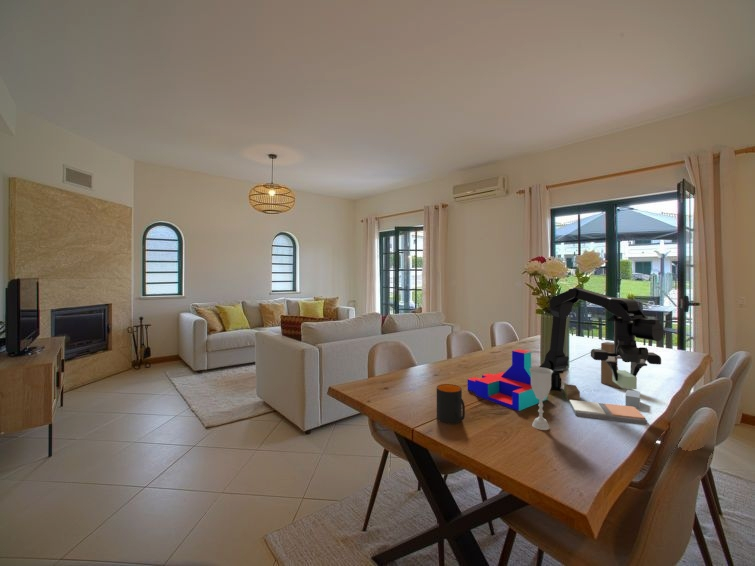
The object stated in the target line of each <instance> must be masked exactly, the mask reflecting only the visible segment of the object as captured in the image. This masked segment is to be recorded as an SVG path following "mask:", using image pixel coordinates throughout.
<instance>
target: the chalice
mask: <svg viewBox="0 0 755 566" xmlns="http://www.w3.org/2000/svg"><path fill="white" fill-rule="evenodd" d="M531 367H532V366H531ZM529 370H530V372H531V386H532V389H533V392H534V394H535V396H536V398H537V399H539V403H537V404H538V410H537V412H538V416H537V417H535V418H534V420H533V422H532V423H531V424H532V428H534V429H537V430H539V431H540V430H541V431H548V430H550V425H549V423H548V421H547V419H546V418H544V417H543V414H544V413H545V411H544V409H543V407H544V403H543V402H544V401H543V400H544V399H546V397H547V398H548V395H549V394H550V392H551V390H552V389H551V374H552V373H553V371H552V370H551V369H548V368H542V367H540V366H533V367H532V368H530V369H529Z"/></svg>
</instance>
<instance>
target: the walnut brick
mask: <svg viewBox="0 0 755 566" xmlns="http://www.w3.org/2000/svg"><path fill="white" fill-rule="evenodd" d="M563 394H564V396H565V398H566V400H567V401H569V400H577V401H581V400H580V399H581V397H580V396H581V392H580V390H579V388H578V387H577V385H574V384H566V383H564V384H563Z"/></svg>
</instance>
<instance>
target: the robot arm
mask: <svg viewBox="0 0 755 566" xmlns="http://www.w3.org/2000/svg"><path fill="white" fill-rule="evenodd" d="M580 300H581V301H584V302H587V303H589V304H592V305H596V306H598V307H602V308H603V309H605V310H606V311H607V312H608V313H610V314H612V316H611V317H609V318H608V319H607V322H613V330H614V332H613V343H614V349H613V352H614V353H609V352H606V351H605V350H602V349H599V348H592V349H591V350H590V357H591V358H592V359H593V360H595V361H601V360H602V361H605V362H606V363H608V365H609V367H610V369H611V371H612V374H613V376H614V379H615V381H617V379H618V376H617V367H618V361H617V362H616V361H615V358H617V360H618V359H620V360H622V362H624V363H630V372H629V373H631V374H632V375H634V376H635V377H637V376H638V373H639V372H640V370H641V369H642V368H644V367H647V366H648V364H649V365H662V358H661V355H660V354H657V353H654V352H650V351H649V349H648V348H647V347H642V346H641V347H638V345H637V340H636V338H637V339H641V340H647V341H653V342H660V341H661V340H662V339H663V338H664V335H665V329H664V327H663V325H662V324H661V323H660V318H659V319H658V318H653V319H652V318H651V319H650V318H647V316H646V315H645V314H644V312H643V311H642V310H641V308H640V307H639V304H638V302H637V300H635V299H633V298H624V297H613V296H610V295H605V294H602V293H599V292H595V291H592V290H588V289H585V288H583V287H580V286H579V287H577V286H576V287H572V288H570V289H568V290H566V291H564V292H561V293H560V294H557V295H553V296H552V297H550V299H549V311H550V313H551V315H552V323H551V335H550V336H551V337H550V343H549V344H550V345H549V350H548V351H547V353H546V354H545V356H544V360H543V363H542V364H540V366H539V367H542V368H548V369H551V370H552V371H553V373H552V374H551V389H550V390H553V391H561V390H562V389H561V388H562V377H561V375H560V374H564V372H565V369H567V366H569V363H568V362H569V355H566V353H565V351H564V347H565V346H564V345H565V337H566V327H567V326H566V325H567V318H568V317H569V315H570V314H571V312H572V310H573V305H574V304H576V303H578V302H579V301H580ZM646 362H647V363H648V364H647V363H646Z"/></svg>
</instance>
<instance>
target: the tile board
mask: <svg viewBox="0 0 755 566" xmlns="http://www.w3.org/2000/svg"><path fill="white" fill-rule="evenodd" d="M568 403H569V406H570V408H571V409H572V411H573V413H574V415H575V416H577V417H584V418H591V419H592V418H594V419H601V420H608V421H609V420H610V421H616V422H617V421H618V422H625V423H627V422H628V423H634V424H641V425H642V424H643V425H647V424H648V420H647V418H646V417H645V416H644V415H643V414H642V413H641V412H640V411H639V409H638V408H635V407H632V406H626V405H623V404H613V403H606V402H605V403H604V402H603V403H601V402H594V401H585V400H584V401H583V400H580V401H577V400H568Z"/></svg>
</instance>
